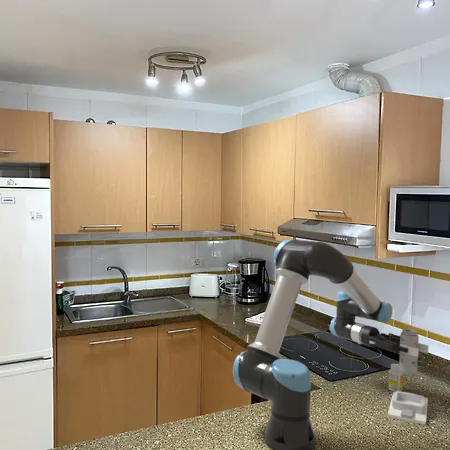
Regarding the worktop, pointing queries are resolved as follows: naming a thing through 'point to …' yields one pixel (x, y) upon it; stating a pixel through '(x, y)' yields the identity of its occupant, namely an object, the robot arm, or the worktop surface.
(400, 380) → the supplement bottle
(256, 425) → the worktop surface
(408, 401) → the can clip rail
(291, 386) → the robot arm
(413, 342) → the energy drink can
